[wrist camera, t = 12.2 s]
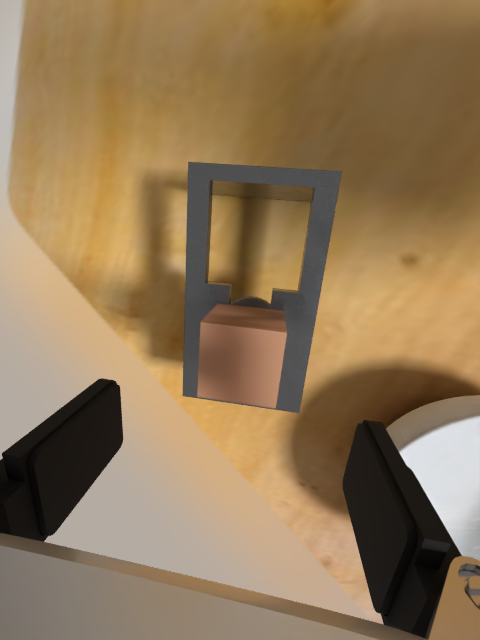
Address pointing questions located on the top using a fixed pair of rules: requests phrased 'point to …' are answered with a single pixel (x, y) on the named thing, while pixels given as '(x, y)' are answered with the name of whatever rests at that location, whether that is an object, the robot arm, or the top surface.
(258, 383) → the keyhole peg
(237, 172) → the keyhole bracket
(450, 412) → the serving bowl
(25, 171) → the top surface
